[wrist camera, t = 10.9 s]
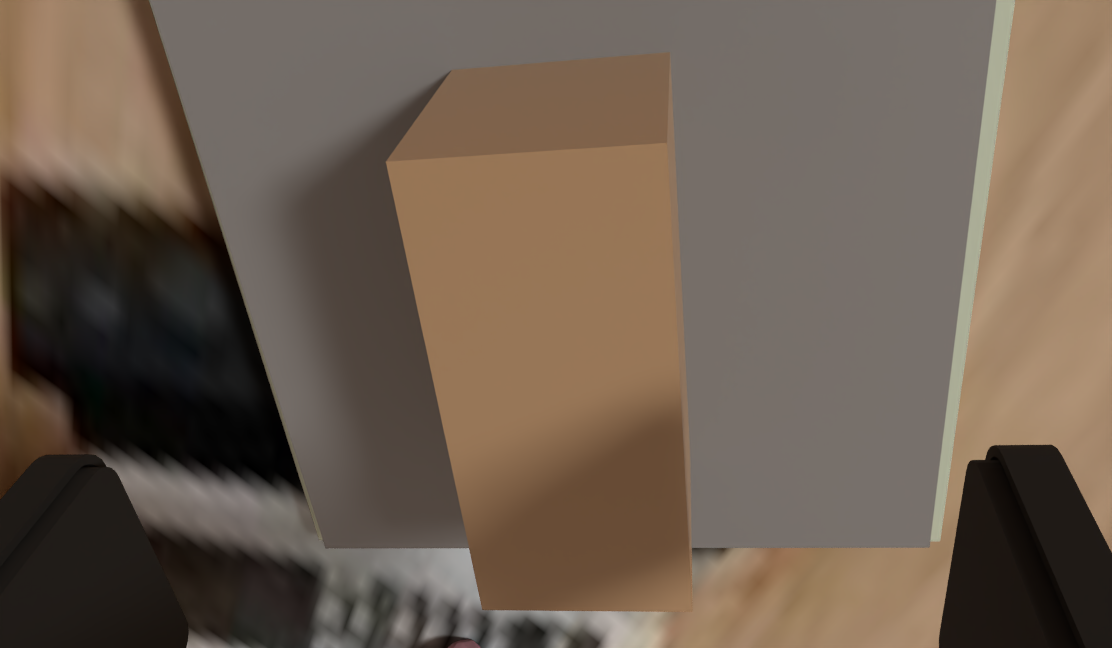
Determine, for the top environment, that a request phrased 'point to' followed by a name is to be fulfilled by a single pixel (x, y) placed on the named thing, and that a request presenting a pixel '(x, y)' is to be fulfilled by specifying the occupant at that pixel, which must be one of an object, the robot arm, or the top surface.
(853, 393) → the lid
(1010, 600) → the robot arm
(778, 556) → the top surface
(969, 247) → the mat
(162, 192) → the top surface
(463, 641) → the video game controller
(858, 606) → the top surface
